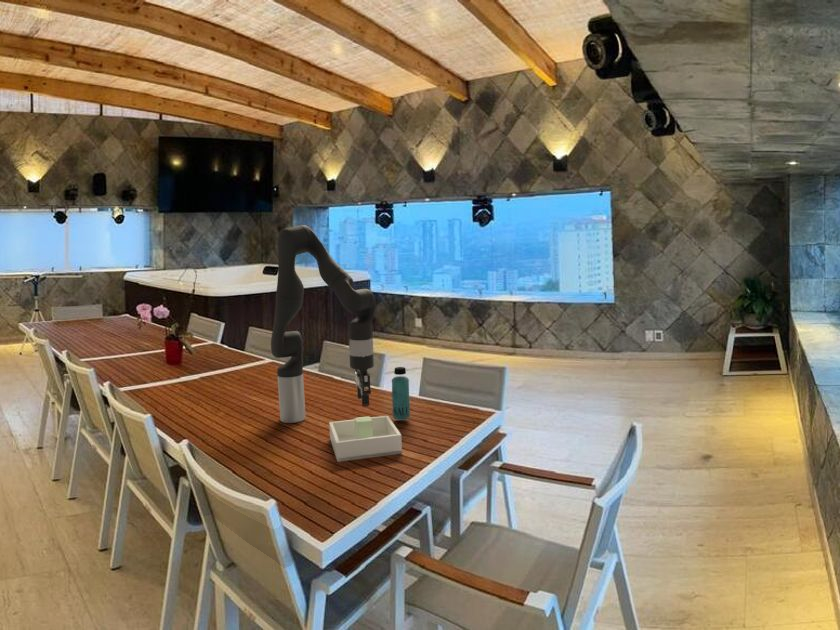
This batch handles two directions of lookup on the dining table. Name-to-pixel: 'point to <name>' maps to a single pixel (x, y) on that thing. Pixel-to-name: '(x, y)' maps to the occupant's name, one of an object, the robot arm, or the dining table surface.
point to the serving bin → (365, 439)
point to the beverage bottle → (400, 395)
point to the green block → (363, 427)
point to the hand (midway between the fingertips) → (363, 402)
